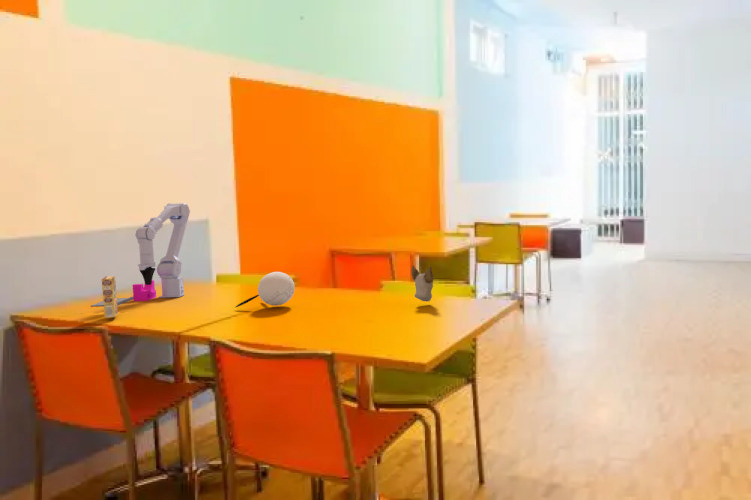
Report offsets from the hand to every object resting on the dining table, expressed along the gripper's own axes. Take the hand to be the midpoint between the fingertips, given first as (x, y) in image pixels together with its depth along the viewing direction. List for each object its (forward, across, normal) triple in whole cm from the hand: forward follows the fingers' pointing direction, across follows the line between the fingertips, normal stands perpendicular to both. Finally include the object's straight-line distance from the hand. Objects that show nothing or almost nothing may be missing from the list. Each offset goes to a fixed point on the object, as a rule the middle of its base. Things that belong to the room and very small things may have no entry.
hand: (148, 284), depth 317 cm
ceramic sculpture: (+8, +21, +122) cm, 124 cm away
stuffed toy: (-4, +24, +68) cm, 72 cm away
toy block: (+8, -10, -5) cm, 14 cm away
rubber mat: (+8, 0, -16) cm, 18 cm away
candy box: (+8, +35, -2) cm, 36 cm away
